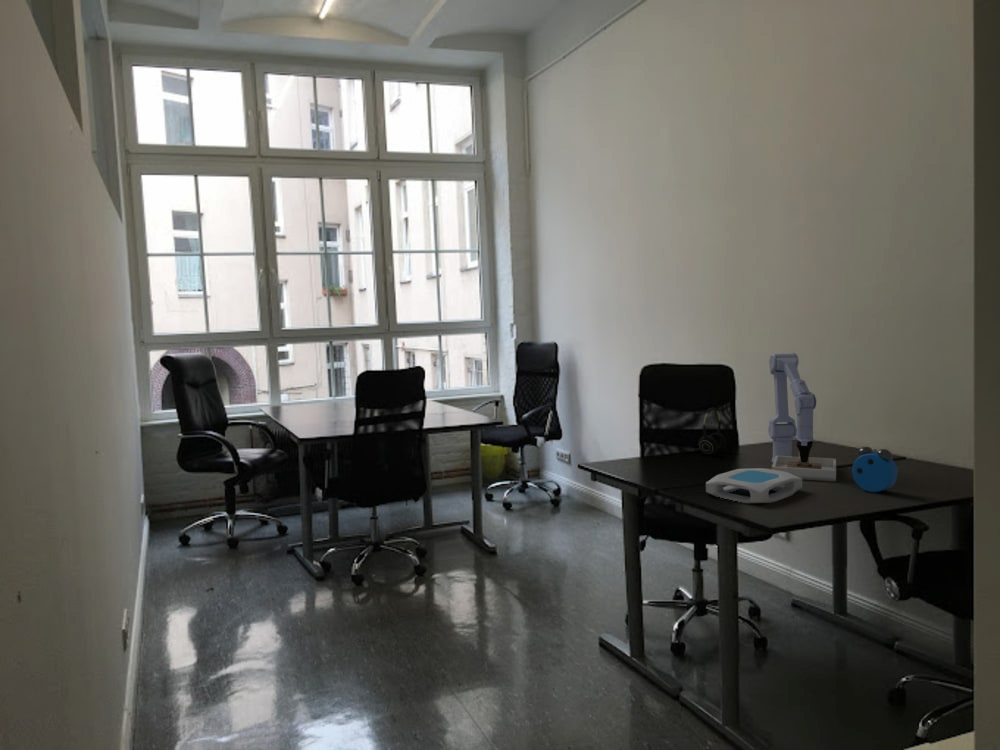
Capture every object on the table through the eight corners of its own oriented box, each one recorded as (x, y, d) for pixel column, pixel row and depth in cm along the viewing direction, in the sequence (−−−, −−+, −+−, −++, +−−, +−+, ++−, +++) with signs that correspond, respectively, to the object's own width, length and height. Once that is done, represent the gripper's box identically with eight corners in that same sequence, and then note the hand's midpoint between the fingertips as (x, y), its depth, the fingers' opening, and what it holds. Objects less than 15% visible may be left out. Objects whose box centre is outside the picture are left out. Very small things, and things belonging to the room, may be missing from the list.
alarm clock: (897, 493, 266) (899, 449, 264) (889, 496, 262) (890, 451, 260) (860, 486, 276) (861, 444, 274) (851, 489, 272) (851, 446, 271)
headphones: (694, 455, 337) (694, 408, 335) (711, 449, 348) (711, 404, 346) (713, 457, 331) (713, 410, 329) (729, 451, 342) (729, 406, 340)
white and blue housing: (803, 491, 271) (803, 474, 271) (760, 507, 253) (760, 488, 252) (748, 482, 287) (748, 465, 286) (704, 496, 268) (704, 478, 268)
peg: (799, 464, 300) (798, 446, 300) (809, 464, 299) (808, 446, 298) (798, 466, 297) (798, 448, 296) (808, 466, 295) (808, 448, 295)
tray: (775, 465, 312) (775, 455, 312) (835, 468, 304) (835, 458, 303) (771, 477, 292) (771, 466, 292) (835, 481, 284) (836, 470, 283)
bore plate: (788, 466, 306) (788, 461, 306) (821, 468, 301) (821, 463, 301) (786, 472, 295) (786, 467, 295) (821, 474, 290) (821, 469, 290)
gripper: (794, 422, 304) (794, 457, 306) (792, 428, 291) (792, 464, 292) (814, 423, 302) (813, 458, 303) (813, 429, 288) (812, 465, 290)
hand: (804, 461), depth 298 cm, fingers closed on peg, 4 cm apart
